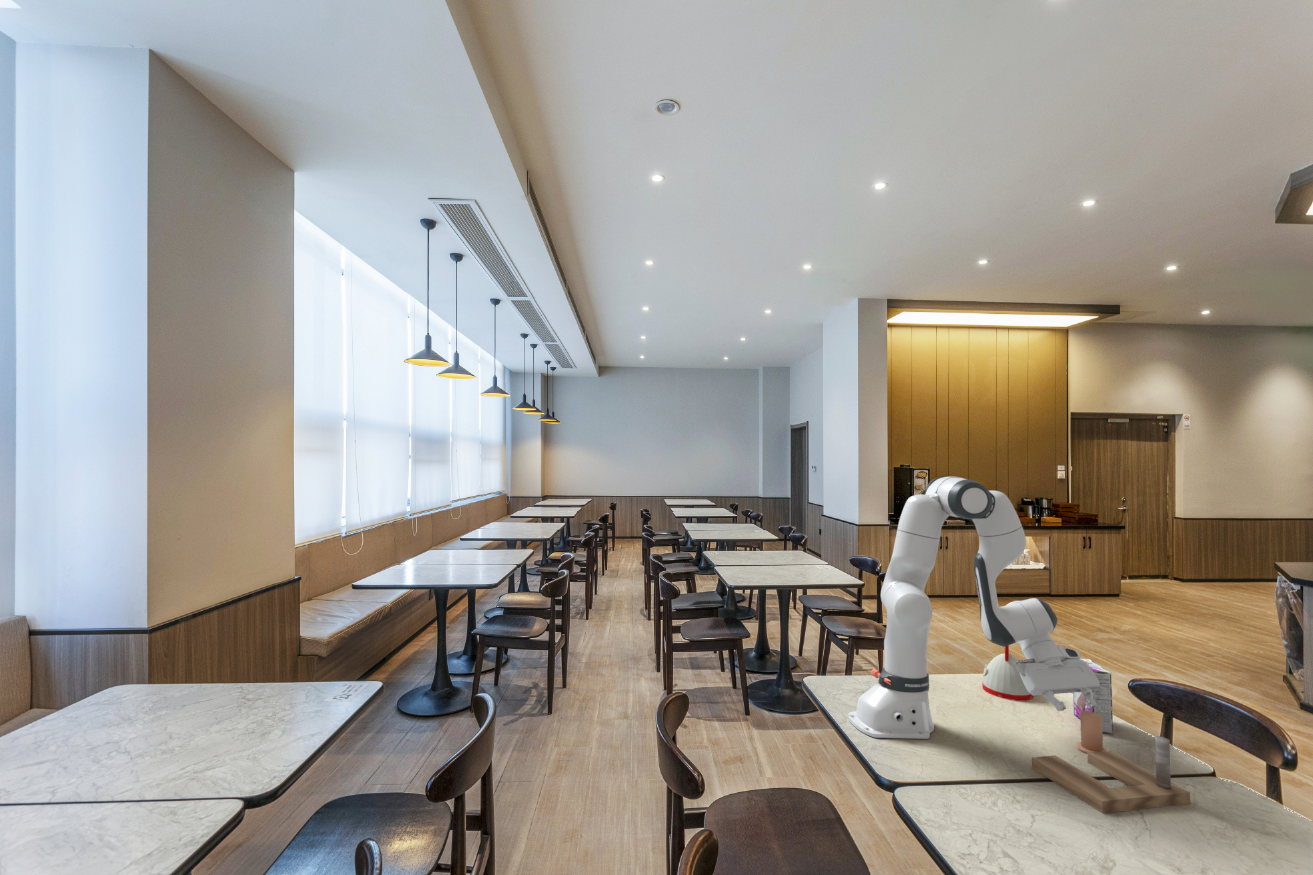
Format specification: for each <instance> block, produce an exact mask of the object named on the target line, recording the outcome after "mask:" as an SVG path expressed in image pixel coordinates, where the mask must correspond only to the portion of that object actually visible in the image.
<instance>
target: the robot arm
mask: <svg viewBox="0 0 1313 875" xmlns="http://www.w3.org/2000/svg"><path fill="white" fill-rule="evenodd" d="M949 517H954V518H960V519H964V520H971V521H972V523H973V524H974V526H975V529H976V532H977V535H978V539H979V540H978V541H979V544H978V545H979V547H978V550H977V553H976V554H975V555H974V557H973V571H974V572H973V573H974V577H975V585H976V591H977V596H978V597H977V598H978V604H979V616H980V617H979V618H980V619H979V620H980V626H981V629H982V632H983V634H984V636H985V638H986V640H988V641H989V642H990V643H992V644H995V645H997V646H1000V647H1003V648H1005V647H1006V646H1008V645H1009V646H1010V645H1013V644H1016V643H1017V644H1018V645H1019V646H1020V649H1021V652H1022V654H1023V655H1024V657H1025V659H1018V662H1016V668H1017V669H1018V671H1019V673H1020V676H1021V678H1022V681H1023V683H1024V685H1025V687H1026V689H1027V691H1028V692H1029V693H1030V694H1032V695H1034V696H1044V698H1045V699H1046V700H1047V701H1048V702H1049V703H1050V704H1052V705H1053V706H1054V708H1055V709H1056V710H1057V711H1058V712H1061V711H1062V712H1063V711H1064V710H1067V706H1066V705H1065V703H1064V701H1061V700H1059V699H1057V697H1056V696H1055V695H1059V694H1073V693H1074V692H1081V693H1082V694H1083V695H1084V696H1086V700H1087V701H1086V702H1085V704H1086V705H1087V707H1088V708H1095V707H1097V704H1096V702H1095V701H1094V698H1093V692H1092V691H1094V690H1095V689H1097V688H1098V687H1099V685H1100V683H1099V680H1098V678H1097V677H1096V675H1095V674H1094V672H1093V671H1092V670H1091V668H1090V667H1089V666H1088V665H1087V663H1086V662H1084V661H1083V660H1081V659H1082V655H1081V653H1080V652H1079V651H1078V650H1076V649H1072V648H1069V647H1064V646H1062V645H1060V644H1057V643H1056V641H1055V640H1054V639H1053V638H1052V637H1051V636H1050V634H1051V633H1053V632H1054V630H1055V628H1056V626H1057V624H1058V622H1059V621H1058V617H1057V615H1056V613H1055V612H1054V610H1053V609H1052V607H1051V606H1050V604H1049V603H1047V602H1046V601H1044V600H1043V599H1040V598H1038V597H1034V598H1033V597H1032V598H1028V599H1027V598H1026V599H1023V600H1013V601H1011V602H1009V603H1006V605H1003V606H999V601H998V595H997V593H998V592H997V586H996V580H997V578H998V577H999V575H1000V574H1001V573H1002V571H1004V569H1007V567H1009V566H1010V565H1011V564H1013V563H1014V562H1016V561H1017V560H1018V559H1019V558H1020V557H1021V556H1022V554H1024V551H1025V550H1026V547H1027V539H1026V534H1025V533H1026V532H1025V530H1024V527H1023V526H1022V523H1021V520H1020V518H1019V515H1018V513H1017V511H1016V509H1015V507H1014V505H1013V504H1012V502H1011V500H1010V499H1009V497H1008V496H1007V495H1006V494H1005V493H1004V492H1001V491H999V490H992V489H991V490H988V489H987V488H986V487H985V486H984V485H983V484H982V483H980V482H978V481H977V480H973V479H967V478H963V477H962V476H961V477H960V476H949V475H943V476H937V477H936V478H933V479H931V480H930V482H928V483H927V485H926V487H925V488H924V490H923V491H922V492H921V493H920V494H915V495H912V496H910V497H908V499H907V500H906V501H905V503H904V506H903V509H902V511H901V514H900V516H899V520H898V525H897V529H896V534H895V539H894V545H893V550H892V554H891V558H890V562H889V564H888V567H887V569H886V573H885V576H884V580H883V583H882V587H881V590H880V600H881V603H882V606H884V608H885V609H886V630H885V637H884V639H883V648H884V650H883V651H884V652H883V653H884V655H883V656H884V659H883V663H884V664H883V666H884V667H883V668H882V670H881V671H879V670H877V669H876V668H872V670H871V672H870V673H871V674H870V675H871V676H872V677H874V678H876V679H878V681H877V682H876V683H875V684H874V685H873V686H871V687H870V688H869V689H868V690H867V691H865V692H863V693H862V694H861V695H860V696H859V697H858V700H857V705H856V710H853V711H850V712H848V714H847V716H848V721H849V722H850V723H851V725H852V726H854V727H855V728H856V729H857V730H858V731H860V732H861V733H863V734H865V735H867V736H870V737H872V738H875V739H876V738H879V739H882V738H883V739H920V740H921V739H922V740H924V739H925V740H928V739H931V733H932V732H934V730H935V724H934V721H933V717H932V713H931V708H930V700H929V690H930V675H929V673H928V643H929V642H928V641H929V636H930V630H931V629H930V628H931V619H932V617H933V605H932V603H931V599H930V598H929V596H928V595H927V594H926V593H925V588H926V585H927V583H928V580H929V577H930V576H931V575H930V574H931V573H932V571H933V569H934V568H935V564H936V559H937V555H938V549H939V544H940V540H941V533H942V527H943V525H944V523H945V521H946V520H947V519H948V518H949ZM1018 663H1019V664H1018Z"/></svg>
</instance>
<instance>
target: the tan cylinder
mask: <svg viewBox="0 0 1313 875" xmlns="http://www.w3.org/2000/svg"><path fill="white" fill-rule="evenodd" d="M1080 716H1081V720H1080V741H1079V742H1076V747H1077V749H1078V750H1079V751H1080V752H1081V753H1083V754H1085V755H1088V753H1090V752H1102V751H1108V750H1107V749H1106V748H1105V747H1104V742H1103V741H1104V737H1103V733H1102V716H1101V715H1099V714H1097V713H1094V712H1090V711H1081V712H1080Z"/></svg>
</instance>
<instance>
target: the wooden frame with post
mask: <svg viewBox="0 0 1313 875" xmlns="http://www.w3.org/2000/svg"><path fill="white" fill-rule="evenodd" d="M1170 742H1171V740H1170V739H1169V738H1166V737H1164V736H1158V735H1157V736H1155V737H1154V745H1155V746H1154V748H1155V773H1154V772H1152V771H1150V770H1148V769H1146V768H1144V767H1143V766H1142V765H1141V766H1140V765H1139V764H1137V763H1135V762H1133V761H1131V760H1130V759H1127V758H1125V757H1123V756H1121V755H1119V754H1117V753H1116V752H1114V751H1112V750H1107V751H1102V752H1090V753H1088V754H1087V763H1088V764H1089V765H1091V766H1093V767H1094V768H1097V769H1098V770H1100V771H1102V772H1103V773H1105V774H1107V775H1108V776H1110V777H1112V778H1114V779H1116V780H1118V781H1119V782H1121V783H1123V784H1125V785H1124V786H1116V787H1111V786H1108V785H1106V783H1103V782H1101V781H1100V780H1098V779H1097V778H1094V777H1093V776H1092V775H1089V774H1088V773H1087V772H1085V771H1083V770H1081V769H1079V768H1077V767H1076V766H1074V765H1073V764H1070V763H1069V762H1067V761H1066V760H1064V759H1063V758H1061V757H1059V756H1057V755H1047V756H1046V755H1045V756H1044V755H1043V756H1034V757H1031V769H1033V770H1035V771H1036V772H1037V773H1039V774H1040V775H1043V776H1044V777H1046V778H1047V779H1049V780H1050V781H1052V782H1053V783H1055V784H1056V785H1058V786H1060V787H1061V788H1063V789H1064V790H1066V791H1067V792H1069V793H1070V794H1072V795H1074V796H1075V797H1077V798H1078V799H1080V800H1081V801H1083V802H1085V803H1086V804H1088V805H1089V806H1091V807H1092V808H1094V809H1095V810H1097V811H1098V812H1100V813H1102V814H1105V813H1115V812H1125V811H1133V810H1145V809H1153V808H1154V809H1155V808H1163V807H1171V806H1181V805H1190V804H1191V793H1190V792H1191V791H1188V790H1187V789H1184V788H1182V787H1180V786H1179V785H1177V784H1176V783H1175V784H1174V783H1173V782H1171V780H1172V779H1171V776H1172V775H1171V774H1172V773H1171V746H1170V745H1171V744H1170Z"/></svg>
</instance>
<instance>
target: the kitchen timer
mask: <svg viewBox="0 0 1313 875" xmlns="http://www.w3.org/2000/svg"><path fill="white" fill-rule="evenodd" d="M1009 649H1010V645H1008V646H1006V647H1004V653H1001V654H998V655H996V656H995V657H993V658H992V659H991V660H990V662H988V664H987V663H986V664H985V665H984V668H983V675H982V682H981V683H982V690H983V691H985V692H986V693H987V694H990V695H991V696H994V697H997V698H1000V699H1006V700H1010V701H1017V702H1018V701H1020V702H1021V701H1022V702H1023V701H1030V700H1033V698H1034V696H1035V695H1032V694H1030V693H1029V692H1028V691H1027V689H1026V687H1025V685H1024V683H1023V681H1022V678H1021V676H1020V673H1019V671H1018V669H1017V668H1016V662H1018V660H1019V659H1018V658H1017V657H1015V656H1014V655H1012V654H1011V653H1010V650H1009ZM1018 664H1019V663H1018Z"/></svg>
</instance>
